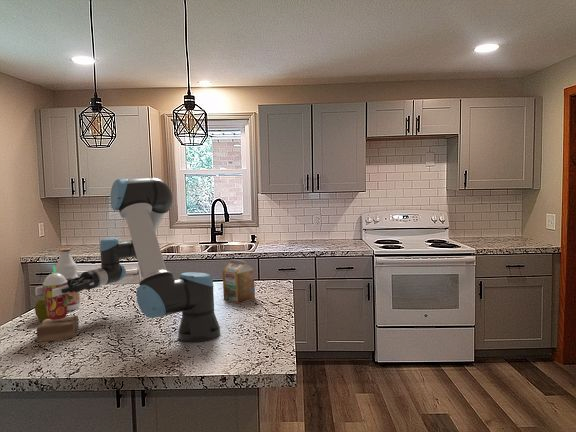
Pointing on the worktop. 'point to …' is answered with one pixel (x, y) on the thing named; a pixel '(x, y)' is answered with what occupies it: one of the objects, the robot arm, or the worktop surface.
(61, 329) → the brown flat block
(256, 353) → the worktop surface
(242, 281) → the milk carton
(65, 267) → the fruit juice
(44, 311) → the apple
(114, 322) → the worktop surface
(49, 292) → the smoothie
